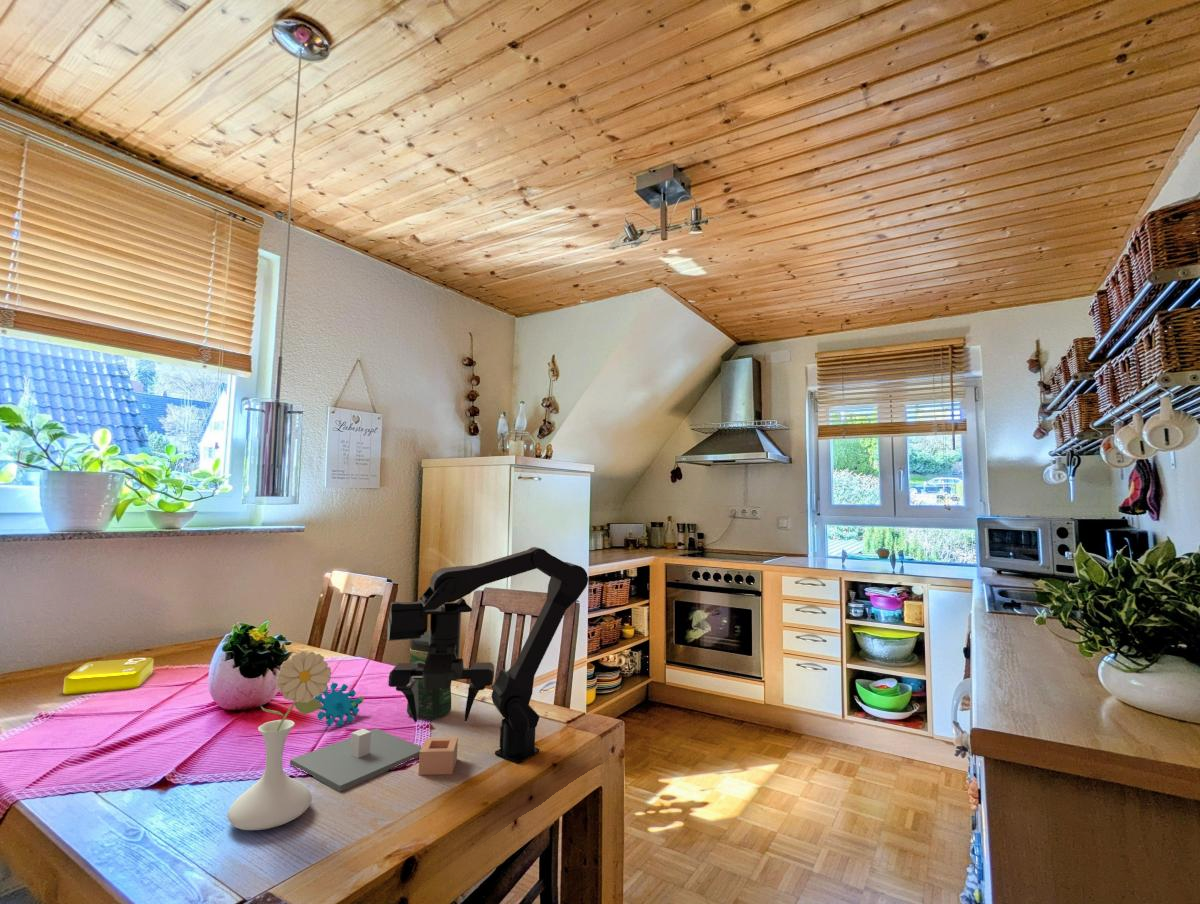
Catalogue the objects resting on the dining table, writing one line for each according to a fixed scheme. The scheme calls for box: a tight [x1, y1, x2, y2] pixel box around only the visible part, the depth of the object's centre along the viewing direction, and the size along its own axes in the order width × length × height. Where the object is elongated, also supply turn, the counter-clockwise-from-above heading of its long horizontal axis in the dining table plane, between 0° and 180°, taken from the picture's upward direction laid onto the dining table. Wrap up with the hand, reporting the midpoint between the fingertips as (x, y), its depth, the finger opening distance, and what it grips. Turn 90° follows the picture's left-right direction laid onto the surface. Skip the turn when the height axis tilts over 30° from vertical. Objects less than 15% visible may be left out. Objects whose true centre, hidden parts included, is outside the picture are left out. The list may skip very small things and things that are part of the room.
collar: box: [417, 737, 459, 776], centre depth 107 cm, size 6×6×4 cm
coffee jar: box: [406, 630, 452, 720], centre depth 133 cm, size 10×8×19 cm
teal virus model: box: [314, 682, 365, 727], centre depth 127 cm, size 11×6×10 cm
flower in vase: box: [226, 650, 332, 831], centre depth 90 cm, size 13×11×25 cm
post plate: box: [289, 728, 422, 793], centre depth 109 cm, size 16×18×5 cm
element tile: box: [62, 657, 155, 695], centre depth 147 cm, size 15×15×5 cm
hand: (441, 721), depth 107 cm, fingers open, 9 cm apart
